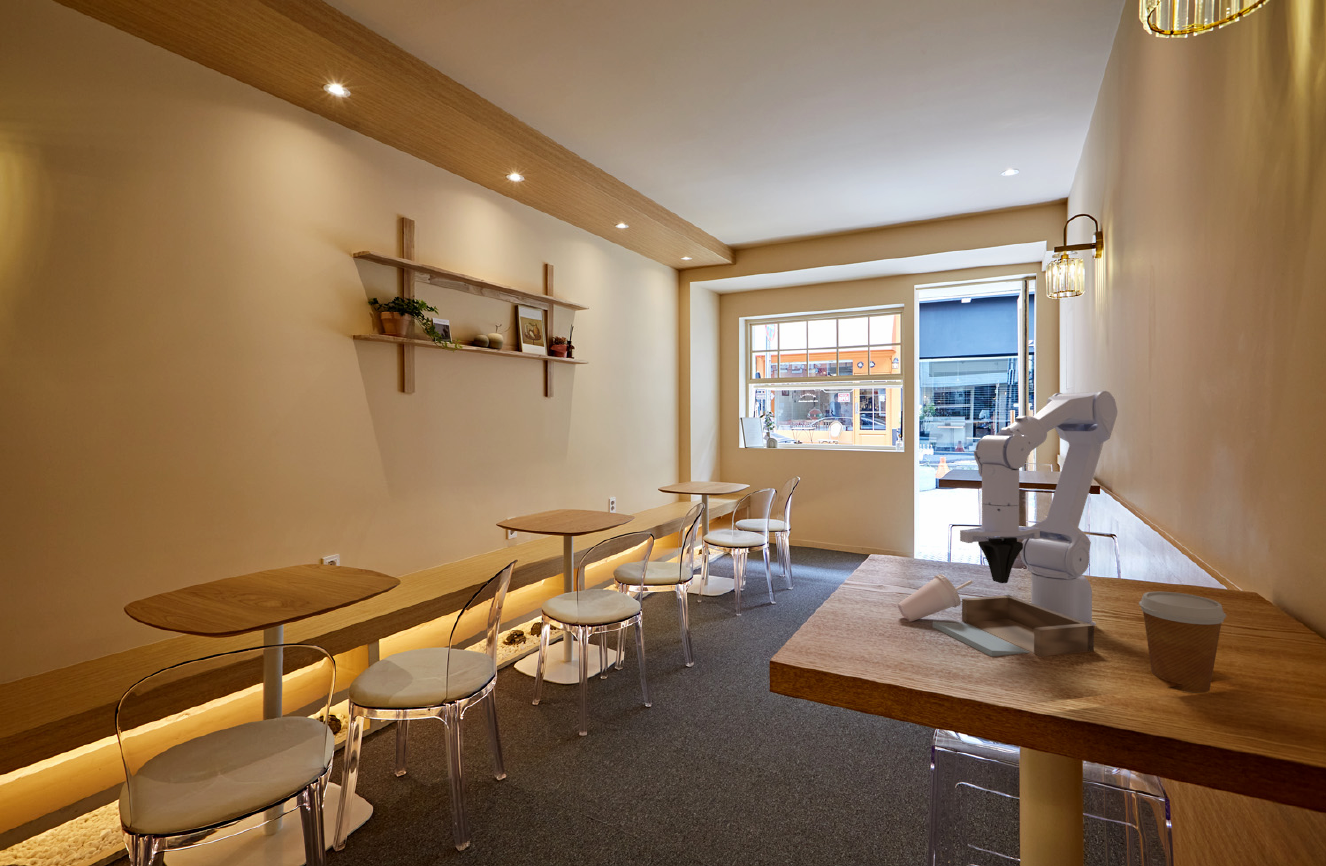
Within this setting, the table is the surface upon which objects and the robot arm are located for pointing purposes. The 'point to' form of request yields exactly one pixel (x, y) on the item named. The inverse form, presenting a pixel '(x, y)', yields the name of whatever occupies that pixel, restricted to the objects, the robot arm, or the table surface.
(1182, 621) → the disposable coffee cup
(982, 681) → the table surface
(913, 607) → the smoothie
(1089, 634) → the box
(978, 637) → the panel
